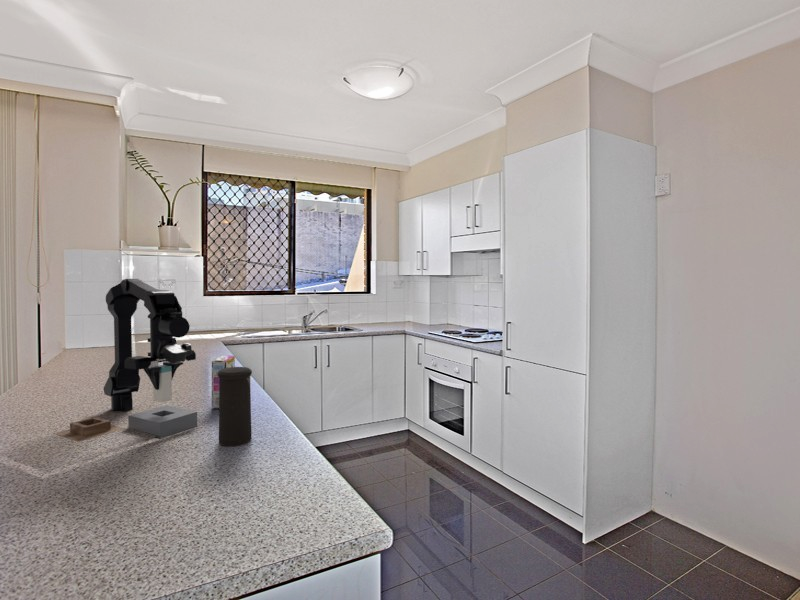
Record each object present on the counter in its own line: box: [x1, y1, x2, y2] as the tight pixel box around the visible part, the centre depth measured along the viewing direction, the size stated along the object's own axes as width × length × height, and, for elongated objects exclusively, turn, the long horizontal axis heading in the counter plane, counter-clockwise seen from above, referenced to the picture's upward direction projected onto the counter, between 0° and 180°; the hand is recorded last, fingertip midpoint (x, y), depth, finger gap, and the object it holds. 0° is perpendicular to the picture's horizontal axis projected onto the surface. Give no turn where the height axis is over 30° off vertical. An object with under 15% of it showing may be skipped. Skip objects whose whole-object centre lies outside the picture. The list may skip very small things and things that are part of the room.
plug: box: [152, 364, 173, 403], centre depth 134 cm, size 4×3×10 cm
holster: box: [55, 416, 126, 442], centre depth 129 cm, size 12×12×4 cm
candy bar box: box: [211, 355, 236, 410], centre depth 159 cm, size 11×5×16 cm, turn 5°
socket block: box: [127, 405, 198, 440], centre depth 134 cm, size 14×12×4 cm
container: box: [218, 366, 253, 447], centre depth 124 cm, size 9×9×20 cm
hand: (162, 388), depth 134 cm, fingers closed on plug, 3 cm apart
